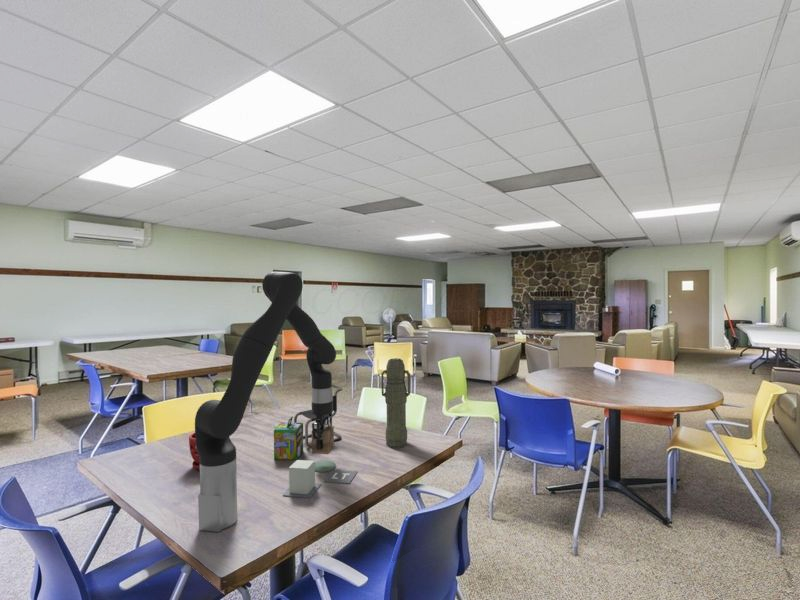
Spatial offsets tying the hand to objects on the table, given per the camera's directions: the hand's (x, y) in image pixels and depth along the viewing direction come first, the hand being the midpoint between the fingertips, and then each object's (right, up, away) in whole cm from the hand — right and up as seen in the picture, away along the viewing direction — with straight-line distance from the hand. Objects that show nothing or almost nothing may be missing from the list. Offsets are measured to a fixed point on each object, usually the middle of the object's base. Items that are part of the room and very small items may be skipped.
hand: (323, 445), depth 150 cm
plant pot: (-42, -8, +3) cm, 43 cm away
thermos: (+26, -7, +22) cm, 35 cm away
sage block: (-3, -8, -18) cm, 19 cm away
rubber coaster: (0, -8, 0) cm, 8 cm away
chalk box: (-15, -8, +11) cm, 20 cm away
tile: (+8, -8, -8) cm, 14 cm away
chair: (-7, -7, +28) cm, 30 cm away
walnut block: (0, -2, 0) cm, 2 cm away
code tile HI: (-3, -8, -18) cm, 20 cm away
